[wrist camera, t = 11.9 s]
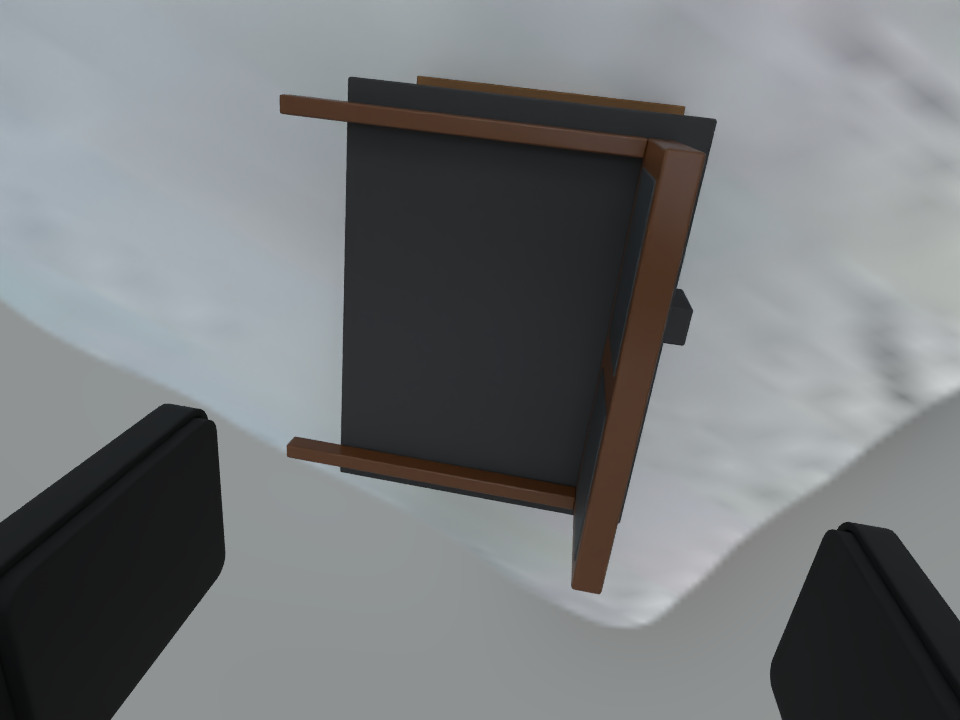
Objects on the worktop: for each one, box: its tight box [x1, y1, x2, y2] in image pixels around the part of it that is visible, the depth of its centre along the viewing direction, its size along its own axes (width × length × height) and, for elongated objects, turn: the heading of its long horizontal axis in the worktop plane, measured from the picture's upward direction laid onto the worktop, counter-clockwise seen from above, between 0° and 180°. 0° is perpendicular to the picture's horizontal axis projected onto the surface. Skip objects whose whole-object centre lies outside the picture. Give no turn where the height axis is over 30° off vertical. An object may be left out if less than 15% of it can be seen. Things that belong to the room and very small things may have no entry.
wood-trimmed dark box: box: [340, 76, 717, 523], centre depth 28 cm, size 14×16×12 cm
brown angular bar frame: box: [280, 94, 706, 594], centre depth 21 cm, size 13×14×5 cm
